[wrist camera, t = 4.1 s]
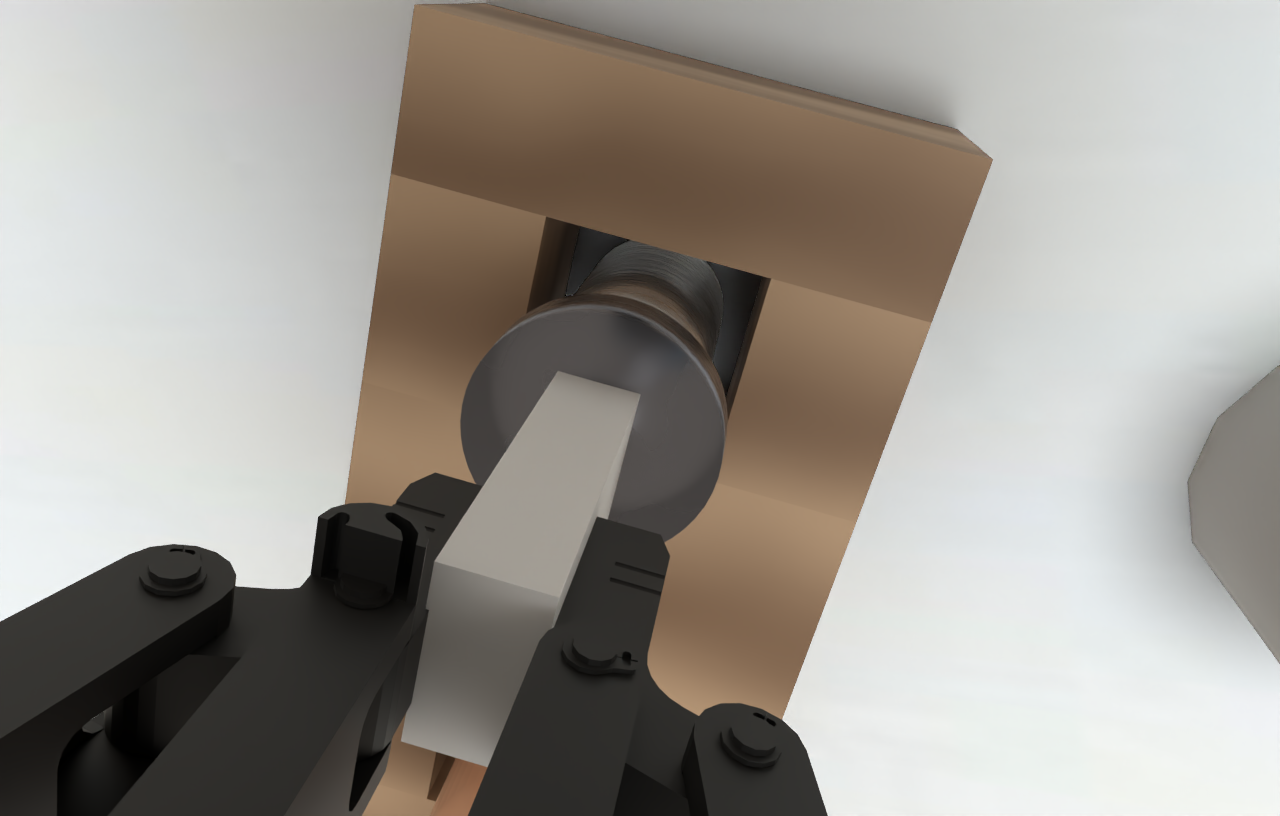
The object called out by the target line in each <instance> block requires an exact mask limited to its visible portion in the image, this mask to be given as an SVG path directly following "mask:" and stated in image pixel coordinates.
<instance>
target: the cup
mask: <svg viewBox="0 0 1280 816" xmlns="http://www.w3.org/2000/svg"><path fill="white" fill-rule="evenodd" d="M1188 493H1189V506H1190V520H1191V533H1192V543H1193V544H1194V545H1195V547H1196V548H1197V550H1198V551H1199V552H1200V554H1201V555H1202V557H1203V558H1204V559H1205V561H1206V562H1207V564H1208V565H1209V566H1210V568H1211V569H1212V570H1213V572H1214V573H1215V575H1216V576H1217V577H1218V579H1219V580H1220V582H1221V583H1222V584H1223V586H1224V587H1225V589H1226V590H1227V591H1228V593H1229V594H1230V595H1231V597H1232V598H1233V600H1234V601H1235V602H1236V604H1237V605H1238V607H1239V608H1240V609H1241V611H1242V612H1243V614H1244V615H1245V616H1246V618H1247V619H1248V620H1249V622H1250V623H1251V625H1252V626H1253V627H1254V629H1255V630H1256V632H1257V633H1258V634H1259V636H1260V637H1261V639H1262V640H1263V641H1264V643H1265V644H1266V645H1267V647H1268V648H1269V650H1270V651H1271V652H1272V654H1273V655H1274V657H1275V658H1276V659H1277V661H1278V662H1279V664H1280V365H1279V366H1277V367H1276V368H1275V369H1274V370H1272V371H1271V372H1270V373H1269V374H1268V375H1267V376H1266V377H1264V378H1263V379H1262V380H1261V381H1260V382H1259V383H1257V384H1256V385H1255V386H1254V387H1253V388H1252V389H1250V390H1249V391H1248V392H1247V393H1246V394H1245V395H1243V396H1242V397H1241V398H1240V399H1239V400H1238V401H1237V402H1235V403H1234V404H1233V405H1232V406H1231V407H1230V408H1228V409H1227V410H1226V411H1225V412H1224V413H1223V414H1221V415H1220V416H1219V417H1218V418H1217V420H1216V422H1215V424H1214V426H1213V428H1212V430H1211V432H1210V435H1209V437H1208V439H1207V441H1206V443H1205V445H1204V447H1203V449H1202V452H1201V454H1200V456H1199V458H1198V460H1197V462H1196V464H1195V466H1194V469H1193V471H1192V473H1191V475H1190V477H1189V479H1188Z"/></svg>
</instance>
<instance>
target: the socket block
mask: <svg viewBox="0 0 1280 816" xmlns="http://www.w3.org/2000/svg"><path fill="white" fill-rule="evenodd" d="M992 161H993V159H992V158H991V157H989V156H988V155H987V154H986V153H985V152H983V151H982V150H981V149H980V148H979V147H978V146H976V145H975V144H974V143H973V142H972V141H970V140H969V139H968V138H967V137H966V136H964V135H963V134H962V133H961V132H960V131H959V130H957V129H954V128H950V127H946V126H943V125H939V124H935V123H931V122H928V121H924V120H920V119H916V118H913V117H909V116H905V115H901V114H898V113H894V112H890V111H886V110H883V109H879V108H875V107H871V106H868V105H864V104H860V103H856V102H853V101H849V100H845V99H841V98H838V97H834V96H830V95H827V94H823V93H819V92H815V91H812V90H808V89H804V88H800V87H797V86H793V85H789V84H785V83H782V82H778V81H774V80H770V79H767V78H763V77H759V76H755V75H752V74H748V73H744V72H740V71H737V70H733V69H729V68H725V67H722V66H718V65H714V64H710V63H707V62H703V61H699V60H695V59H692V58H688V57H684V56H680V55H677V54H673V53H669V52H666V51H662V50H658V49H654V48H651V47H647V46H643V45H639V44H636V43H632V42H628V41H624V40H621V39H617V38H613V37H609V36H606V35H602V34H598V33H594V32H591V31H587V30H583V29H579V28H576V27H572V26H568V25H564V24H561V23H557V22H553V21H549V20H546V19H542V18H538V17H534V16H531V15H527V14H523V13H520V12H516V11H512V10H508V9H505V8H501V7H497V6H493V5H490V4H486V3H474V4H417V5H414V12H413V19H412V27H411V34H410V41H409V48H408V55H407V62H406V70H405V77H404V84H403V91H402V98H401V105H400V113H399V120H398V127H397V134H396V141H395V149H394V156H393V163H392V170H391V177H390V184H389V192H388V199H387V206H386V213H385V220H384V227H383V235H382V242H381V249H380V256H379V263H378V270H377V278H376V285H375V292H374V299H373V306H372V313H371V321H370V328H369V335H368V342H367V349H366V357H365V364H364V371H363V378H362V385H361V392H360V400H359V407H358V414H357V421H356V428H355V435H354V443H353V450H352V457H351V464H350V471H349V478H348V486H347V493H346V500H345V504H349V503H376V504H382V505H388V506H392V505H393V504H395V503H396V500H397V499H398V498H399V497H400V495H401V494H402V493H403V492H404V491H405V489H406V488H407V487H408V486H409V484H410V483H413V482H415V481H417V480H419V479H422V478H424V477H426V476H428V475H431V474H433V473H435V472H436V473H439V474H442V475H446V476H449V477H453V478H456V479H460V480H463V481H467V482H470V483H474V484H476V483H475V482H474V479H473V477H472V475H471V473H470V470H469V468H468V465H467V462H466V459H465V456H464V452H463V447H462V441H461V429H460V418H461V409H462V403H463V399H464V395H465V391H466V388H467V386H468V383H469V381H470V379H471V376H472V374H473V373H474V371H475V369H476V368H477V366H478V364H479V363H480V361H481V360H482V359H483V357H484V356H485V355H486V354H487V353H488V351H489V350H490V349H491V348H492V347H493V346H494V344H495V343H496V342H497V341H498V340H499V339H500V338H501V337H502V335H503V334H504V333H505V332H506V331H507V330H508V329H509V328H510V327H511V326H512V325H513V324H514V323H515V322H516V321H517V320H519V319H520V318H521V317H522V316H524V315H525V314H527V313H528V312H530V311H531V310H533V309H535V308H537V307H539V306H541V305H543V304H545V303H547V302H550V301H553V300H556V299H559V298H562V297H564V296H565V292H566V287H567V283H568V278H569V274H570V269H571V264H572V260H573V255H574V251H575V246H576V242H577V237H578V232H579V228H580V226H582V227H586V228H589V229H593V230H597V231H600V232H604V233H607V234H611V235H615V236H618V237H622V238H626V239H629V240H633V241H636V242H640V243H644V244H647V245H651V246H655V247H658V248H662V249H665V250H669V251H673V252H676V253H680V254H684V255H687V256H691V257H694V258H698V259H702V260H705V261H709V262H713V263H716V264H720V265H723V266H727V267H731V268H734V269H738V270H742V271H745V272H749V273H752V274H756V275H760V276H762V279H761V282H760V286H759V289H758V292H757V296H756V299H755V302H754V306H753V309H752V312H751V316H750V319H749V322H748V326H747V329H746V333H745V336H744V339H743V343H742V346H741V349H740V353H739V356H738V359H737V363H736V366H735V369H734V373H733V376H732V379H731V383H730V386H729V389H728V393H727V396H726V402H727V414H728V424H727V436H726V442H725V448H724V454H723V460H722V465H721V469H720V473H719V478H718V480H717V483H716V485H715V488H714V491H713V493H712V495H711V496H710V498H709V500H708V502H707V503H706V505H705V507H704V508H703V509H702V511H701V512H700V513H699V514H698V516H697V517H696V518H695V519H694V520H693V521H692V522H691V523H690V524H689V525H688V526H687V527H686V528H685V529H684V530H682V531H681V532H680V533H678V534H677V535H676V536H674V537H673V538H672V539H670V540H668V541H666V542H664V543H665V545H666V547H667V550H668V552H669V554H670V559H669V564H668V568H667V572H666V577H665V581H664V585H663V590H662V594H661V599H660V603H659V607H658V612H657V616H656V620H655V625H654V629H653V633H652V638H651V642H650V646H649V651H648V661H647V665H648V668H649V671H650V674H651V677H652V678H653V680H654V681H655V683H656V684H657V686H658V687H659V688H660V689H661V690H662V691H663V692H664V693H665V694H666V695H667V696H668V697H669V698H670V699H672V700H673V701H675V702H676V703H678V704H679V705H681V706H682V707H684V708H686V709H687V710H689V711H691V712H693V713H695V714H696V715H698V716H700V714H701V713H702V712H703V711H704V709H707V708H709V707H712V706H715V705H717V704H720V703H742V704H746V705H750V706H753V707H757V708H761V709H763V710H765V711H767V712H769V713H770V714H772V715H774V716H776V717H778V718H780V719H781V720H782V718H783V715H784V712H785V710H786V707H787V704H788V702H789V699H790V697H791V694H792V691H793V689H794V686H795V683H796V681H797V678H798V675H799V673H800V670H801V667H802V665H803V662H804V659H805V657H806V654H807V651H808V649H809V646H810V643H811V641H812V638H813V636H814V633H815V630H816V628H817V625H818V622H819V620H820V617H821V614H822V612H823V609H824V606H825V604H826V601H827V598H828V596H829V593H830V590H831V588H832V585H833V583H834V580H835V577H836V575H837V572H838V569H839V567H840V564H841V561H842V559H843V556H844V553H845V551H846V548H847V545H848V543H849V540H850V537H851V535H852V532H853V529H854V527H855V524H856V522H857V519H858V516H859V514H860V511H861V508H862V506H863V503H864V500H865V498H866V495H867V492H868V490H869V487H870V484H871V482H872V479H873V476H874V474H875V471H876V469H877V466H878V463H879V461H880V458H881V455H882V453H883V450H884V447H885V445H886V442H887V439H888V437H889V434H890V431H891V429H892V426H893V423H894V421H895V418H896V415H897V413H898V410H899V408H900V405H901V402H902V400H903V397H904V394H905V392H906V389H907V386H908V384H909V381H910V378H911V376H912V373H913V370H914V368H915V365H916V362H917V360H918V357H919V354H920V352H921V349H922V347H923V344H924V341H925V339H926V336H927V333H928V331H929V328H930V325H931V323H932V320H933V317H934V315H935V312H936V309H937V307H938V304H939V301H940V299H941V296H942V294H943V291H944V288H945V286H946V283H947V280H948V278H949V275H950V272H951V270H952V267H953V264H954V262H955V259H956V256H957V254H958V251H959V248H960V246H961V243H962V240H963V238H964V235H965V233H966V230H967V227H968V225H969V222H970V219H971V217H972V214H973V211H974V209H975V206H976V203H977V201H978V198H979V195H980V193H981V190H982V187H983V185H984V182H985V180H986V177H987V174H988V172H989V169H990V166H991V164H992ZM405 716H406V714H405ZM405 716H404V718H403V719H402V721H401V723H400V725H399V727H398V728H397V730H396V732H395V734H394V736H393V738H392V743H391V749H390V754H389V759H388V763H387V767H386V771H385V773H384V775H383V777H382V779H381V781H380V783H379V784H378V786H377V788H376V790H375V792H374V794H373V796H372V798H371V800H370V801H369V803H368V805H367V807H366V809H365V811H364V813H363V815H362V816H429V815H430V813H431V811H432V809H433V806H434V804H435V802H436V800H437V798H438V795H439V793H440V791H441V789H442V787H443V784H444V782H445V780H446V778H447V776H448V773H449V771H450V769H451V767H452V765H453V762H454V760H455V757H452V756H448V755H445V754H442V753H438V752H435V751H432V750H428V749H425V748H422V747H418V746H415V745H412V744H408V743H405V742H402V741H401V738H402V732H403V727H404V722H405Z"/></svg>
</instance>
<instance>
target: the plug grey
mask: <svg viewBox="0 0 1280 816" xmlns="http://www.w3.org/2000/svg"><path fill="white" fill-rule="evenodd" d="M723 310H724V303H723V295H722V290H721V287H720V284H719V281H718V279H717V277H716V275H715V273H714V271H713V270H712V268H711V267H710V265H709V264H708V263H707V262H706V261H705V260H702V259H698V258H694V257H691V256H687V255H684V254H680V253H676V252H673V251H669V250H665V249H662V248H658V247H655V246H651V245H647V244H644V243H640V242H636V241H633V240H630V241H627V242H625V243H623V244H621V245H619V246H617V247H615V248H614V249H612V250H611V251H610V252H609V253H607V254H606V255H605V256H604V257H603V258H602V259H601V261H600V262H599V263H598V264H597V265H596V267H595V268H594V269H593V271H592V272H591V273H590V275H589V276H588V277H587V279H586V280H585V281H584V282H583V284H582V285H581V286H580V288H579V289H578V290H577V292H576V293H575V294H574V295H572V296H567V297H562V298H559V299H556V300H553V301H550V302H547V303H545V304H543V305H541V306H539V307H537V308H535V309H533V310H531V311H530V312H528V313H527V314H525V315H524V316H522V317H521V318H520V319H519V320H517V321H516V322H515V323H514V324H513V325H512V326H511V327H510V328H509V329H508V330H507V331H506V332H505V333H504V334H503V335H502V337H501V338H500V339H499V340H498V341H497V342H496V343H495V344H494V346H493V347H492V348H491V349H490V350H489V351H488V353H487V354H486V355H485V356H484V357H483V359H482V360H481V361H480V363H479V364H478V366H477V368H476V369H475V371H474V373H473V374H472V376H471V379H470V381H469V383H468V386H467V388H466V391H465V395H464V399H463V403H462V409H461V418H460V429H461V441H462V447H463V452H464V456H465V459H466V462H467V465H468V468H469V470H470V473H471V475H472V477H473V479H474V482H475V483H476V484H477V485H481V486H484V484H485V483H486V481H487V480H488V478H489V476H490V475H491V473H492V472H493V470H494V469H495V467H496V466H497V464H498V463H499V461H500V459H501V458H502V456H503V455H504V453H505V452H506V450H507V449H508V447H509V446H510V444H511V443H512V441H513V439H514V438H515V436H516V435H517V433H518V432H519V430H520V429H521V427H522V426H523V424H524V423H525V421H526V419H527V418H528V416H529V415H530V413H531V412H532V410H533V409H534V407H535V406H536V404H537V402H538V401H539V399H540V398H541V396H542V395H543V393H544V392H545V390H546V389H547V387H548V386H549V384H550V382H551V381H552V379H553V378H554V376H555V375H556V373H557V372H558V371H560V372H563V373H567V374H570V375H574V376H578V377H581V378H585V379H588V380H592V381H595V382H599V383H602V384H606V385H610V386H613V387H617V388H620V389H624V390H627V391H631V392H634V393H638V394H640V398H639V402H638V406H637V410H636V413H635V417H634V421H633V425H632V429H631V432H630V436H629V440H628V444H627V448H626V452H625V455H624V459H623V463H622V467H621V471H620V474H619V478H618V482H617V486H616V490H615V493H614V497H613V501H612V505H611V509H610V513H609V516H608V520H611V521H615V522H618V523H622V524H625V525H629V526H632V527H636V528H639V529H643V530H646V531H650V532H653V533H657V534H660V535H661V536H662V538H663V541H664V542H666V541H668V540H670V539H672V538H673V537H674V536H676V535H677V534H678V533H680V532H681V531H682V530H684V529H685V528H686V527H687V526H688V525H689V524H690V523H691V522H692V521H693V520H694V519H695V518H696V517H697V516H698V514H699V513H700V512H701V511H702V509H703V508H704V507H705V505H706V503H707V502H708V500H709V498H710V496H711V495H712V493H713V491H714V488H715V485H716V483H717V480H718V478H719V473H720V469H721V465H722V460H723V454H724V448H725V442H726V436H727V424H728V414H727V402H726V398H725V393H724V388H723V385H722V382H721V380H720V377H719V374H718V372H717V370H716V368H715V366H714V364H713V362H712V360H713V356H714V352H715V348H716V344H717V340H718V336H719V332H720V328H721V323H722V319H723Z"/></svg>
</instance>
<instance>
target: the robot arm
mask: <svg viewBox="0 0 1280 816" xmlns="http://www.w3.org/2000/svg"><path fill="white" fill-rule="evenodd" d="M639 398H640V394H638V393H634V392H631V391H627V390H624V389H620V388H617V387H613V386H610V385H606V384H602V383H599V382H595V381H592V380H588V379H585V378H581V377H578V376H574V375H570V374H567V373H563V372H560V371H558V372H557V373H556V375H555V376H554V378H553V379H552V381H551V382H550V384H549V386H548V387H547V389H546V390H545V392H544V393H543V395H542V396H541V398H540V399H539V401H538V402H537V404H536V406H535V407H534V409H533V410H532V412H531V413H530V415H529V416H528V418H527V419H526V421H525V423H524V424H523V426H522V427H521V429H520V430H519V432H518V433H517V435H516V436H515V438H514V439H513V441H512V443H511V444H510V446H509V447H508V449H507V450H506V452H505V453H504V455H503V456H502V458H501V459H500V461H499V463H498V464H497V466H496V467H495V469H494V470H493V472H492V473H491V475H490V476H489V478H488V480H487V481H486V483H485V484H484V486H481V485H477V484H474V483H470V482H467V481H463V480H460V479H456V478H453V477H449V476H446V475H442V474H439V473H436V472H435V473H433V474H431V475H428V476H426V477H424V478H422V479H419V480H417V481H415V482H413V483H410V484H409V486H408V487H407V488H406V489H405V491H404V492H403V493H402V494H401V495H400V497H399V498H398V499H397V500H396V503H395V504H393V505H392V506H388V505H382V504H376V503H349V504H345V505H341V506H337V507H333V508H331V509H329V510H328V511H326V512H325V513H323V514H322V515H320V516H319V517H318V523H317V530H316V538H315V546H314V553H313V561H312V569H311V575H310V576H309V578H308V579H307V580H306V581H305V582H304V584H303V585H302V586H301V587H300V588H294V589H263V588H250V587H237V586H235V581H236V574H235V571H234V569H233V567H232V565H231V563H230V562H229V561H227V560H226V559H225V558H223V557H222V556H221V555H219V554H218V553H216V552H213V551H210V550H207V549H204V548H201V547H198V546H188V545H176V544H172V545H163V546H155V547H149V548H146V549H143V550H141V551H138V552H135V553H132V554H129V555H127V556H126V557H124V558H122V559H120V560H118V561H116V562H114V563H112V564H110V565H108V566H106V567H104V568H102V569H101V570H99V571H97V572H95V573H93V574H91V575H89V576H87V577H85V578H83V579H81V580H79V581H78V582H76V583H74V584H72V585H70V586H68V587H66V588H64V589H62V590H60V591H58V592H56V593H54V594H53V595H51V596H49V597H47V598H45V599H43V600H41V601H39V602H37V603H35V604H33V605H31V606H30V607H28V608H26V609H24V610H22V611H20V612H18V613H16V614H14V615H12V616H10V617H8V618H6V619H5V620H3V621H1V622H0V816H362V815H363V813H364V811H365V809H366V807H367V805H368V803H369V801H370V800H371V798H372V796H373V794H374V792H375V790H376V788H377V786H378V784H379V783H380V781H381V779H382V777H383V775H384V773H385V771H386V767H387V763H388V759H389V754H390V749H391V743H392V738H393V736H394V734H395V732H396V730H397V728H398V727H399V725H400V723H401V721H402V719H403V718H404V716H405V714H406V716H405V722H404V727H403V732H402V738H401V741H402V742H405V743H408V744H412V745H415V746H418V747H422V748H425V749H428V750H432V751H435V752H438V753H442V754H445V755H448V756H452V757H455V758H458V759H462V760H465V761H468V762H472V763H475V764H478V765H482V766H485V767H487V770H486V772H485V775H484V777H483V780H482V782H481V784H480V787H479V789H478V792H477V794H476V797H475V799H474V801H473V804H472V806H471V809H470V811H469V814H468V816H828V815H827V812H826V809H825V806H824V803H823V800H822V797H821V794H820V791H819V788H818V784H817V781H816V778H815V775H814V772H813V769H812V766H811V763H810V760H809V757H808V754H807V751H806V749H805V747H804V745H803V743H802V742H801V740H800V738H799V736H798V735H797V733H796V732H794V731H793V730H792V729H791V728H790V727H789V726H788V725H787V724H786V723H785V722H784V721H783V720H781V719H780V718H778V717H776V716H774V715H772V714H770V713H769V712H767V711H765V710H763V709H761V708H757V707H753V706H750V705H746V704H742V703H720V704H717V705H715V706H712V707H709V708H707V709H704V711H703V712H702V713H701V714H700V716H698V715H696V714H695V713H693V712H691V711H689V710H687V709H686V708H684V707H682V706H681V705H679V704H678V703H676V702H675V701H673V700H672V699H670V698H669V697H668V696H667V695H666V694H665V693H664V692H663V691H662V690H661V689H660V688H659V687H658V686H657V684H656V683H655V681H654V680H653V678H652V677H651V674H650V671H649V668H648V665H647V661H648V651H649V646H650V642H651V638H652V633H653V629H654V625H655V620H656V616H657V612H658V607H659V603H660V599H661V594H662V590H663V585H664V581H665V577H666V572H667V568H668V564H669V559H670V554H669V552H668V550H667V547H666V545H665V543H664V541H663V538H662V536H661V535H660V534H657V533H653V532H650V531H646V530H643V529H639V528H636V527H632V526H629V525H625V524H622V523H618V522H615V521H611V520H608V516H609V513H610V509H611V505H612V501H613V497H614V493H615V490H616V486H617V482H618V478H619V474H620V471H621V467H622V463H623V459H624V455H625V452H626V448H627V444H628V440H629V436H630V432H631V429H632V425H633V421H634V417H635V413H636V410H637V406H638V402H639ZM103 711H104V712H103ZM100 713H101V714H100ZM97 715H98V716H97ZM94 717H95V718H94ZM91 719H92V720H91Z"/></svg>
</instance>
